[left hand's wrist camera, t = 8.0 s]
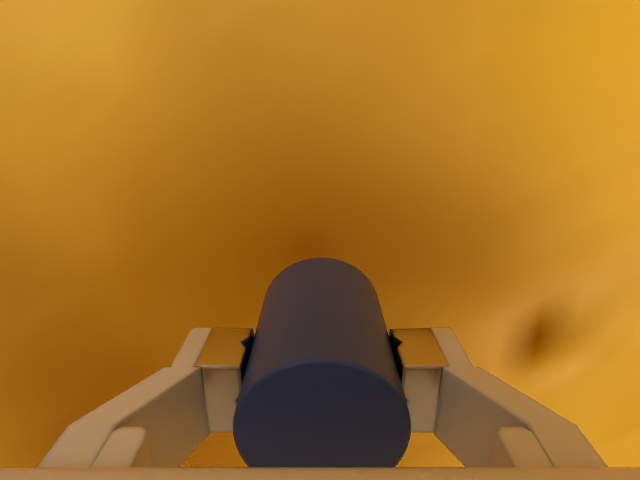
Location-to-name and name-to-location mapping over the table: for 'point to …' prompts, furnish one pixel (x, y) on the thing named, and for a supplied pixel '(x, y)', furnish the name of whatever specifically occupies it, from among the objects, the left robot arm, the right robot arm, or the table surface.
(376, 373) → the canister
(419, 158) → the table surface
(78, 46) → the table surface
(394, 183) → the table surface
